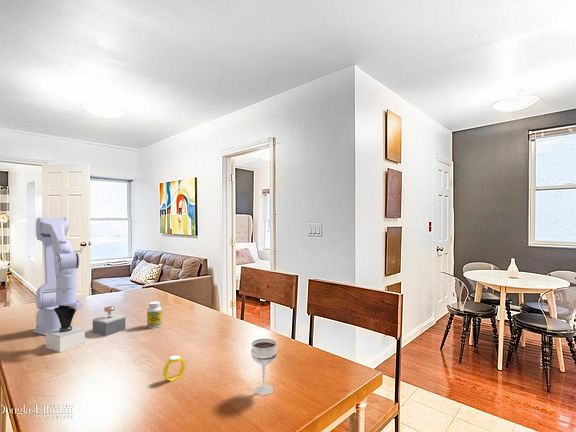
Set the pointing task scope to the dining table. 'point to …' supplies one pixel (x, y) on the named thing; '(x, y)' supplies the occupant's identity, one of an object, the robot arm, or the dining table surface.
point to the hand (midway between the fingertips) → (65, 327)
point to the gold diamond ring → (171, 359)
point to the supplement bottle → (154, 315)
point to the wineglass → (264, 360)
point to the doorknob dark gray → (65, 329)
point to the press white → (65, 339)
